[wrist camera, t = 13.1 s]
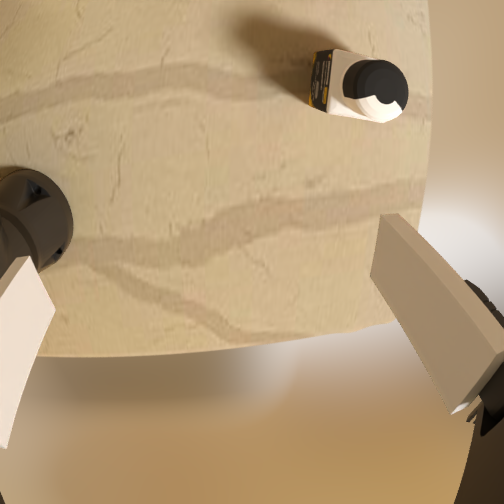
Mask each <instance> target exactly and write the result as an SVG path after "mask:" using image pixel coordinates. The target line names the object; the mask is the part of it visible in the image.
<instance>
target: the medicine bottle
mask: <svg viewBox="0 0 504 504" xmlns="http://www.w3.org/2000/svg"><path fill="white" fill-rule="evenodd" d="M407 100H408V85H407V81H406V79H405V77H404V75H403V73H402V72H401V71H400V69H399V68H398V67H396V66H395V65H394V64H392V63H390V62H388V61H385V60H380V59H376V58H372V57H369V56H365V55H361V54H357V53H353V52H348V51H344V50H339V49H332V50H325V51H319V52H315V53H314V58H313V68H312V77H311V86H310V95H309V106H311V107H313V108H316V109H318V110H321V111H323V112H326V113H328V114H333V115H340V116H346V117H352V118H358V119H363V120H369V121H374V122H379V123H385V122H386V121H389V120H392V119H394V118H396V117H397V116H398V115H400V114H401V112H402V111H403V110H404V108H405V106H406V104H407Z"/></svg>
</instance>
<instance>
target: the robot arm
mask: <svg viewBox="0 0 504 504" xmlns="http://www.w3.org/2000/svg"><path fill="white" fill-rule="evenodd" d="M72 235H73V217H72V213H71V209H70V206H69V204H68V201H67V199H66V198H65V196H64V194H63V193H62V191H61V190H60V188H59V187H58V186H57V185H56V184H55V183H54V182H53V181H52V180H51V179H49V178H48V177H47V176H45V175H43V174H41V173H39V172H37V171H33V170H18V171H15V172H13V173H11V174H9V175H8V176H6V177H5V178H3V179H2V180H1V181H0V447H1V448H4V449H6V448H7V444H8V440H9V437H10V433H11V429H12V425H13V422H14V419H15V415H16V412H17V409H18V405H19V402H20V399H21V396H22V393H23V390H24V387H25V384H26V381H27V379H28V376H29V373H30V370H31V368H32V365H33V363H34V360H35V357H36V355H37V352H38V350H39V347H40V345H41V343H42V340H43V338H44V336H45V333H46V331H47V329H48V326H49V324H50V322H51V320H52V317H53V315H54V313H55V311H56V309H55V307H54V305H53V303H52V301H51V299H50V298H49V296H48V294H47V292H46V290H45V288H44V286H43V283H42V281H41V279H40V277H39V275H38V273H40V272H41V271H43V270H45V269H46V268H48V267H49V266H51V265H53V264H54V263H56V262H57V261H58V260H59V259H60V258H61V257H62V255H63V254H64V252H65V251H66V249H67V248H68V246H69V244H70V242H71V239H72ZM370 277H371V279H372V280H373V282H374V283H375V285H376V286H377V288H378V290H379V291H380V293H381V294H382V296H383V297H384V299H385V301H386V302H387V304H388V305H389V307H390V309H391V310H392V312H393V313H394V315H395V317H396V318H397V320H398V322H399V323H400V325H401V326H402V328H403V330H404V332H405V333H406V335H407V337H408V338H409V340H410V342H411V343H412V345H413V347H414V349H415V350H416V352H417V354H418V356H419V357H420V359H421V361H422V363H423V364H424V366H425V368H426V370H427V372H428V373H429V375H430V377H431V379H432V381H433V383H434V385H435V386H436V388H437V390H438V392H439V394H440V396H441V398H442V400H443V402H444V404H445V406H446V408H447V410H448V412H449V413H450V415H451V414H453V413H455V412H457V411H459V410H462V409H463V408H466V407H467V406H469V405H470V404H471V403H472V401H473V400H474V399H475V398H476V397H477V396H478V394H479V396H480V398H481V399H482V401H481V402H480V404H479V405H478V406H477V407H476V408H475V409H474V410H473V411H472V412H471V414H470V415H469V416H468V418H467V421H466V422H470V421H471V420H472V418H474V416H475V415H476V414H477V416H476V419H475V421H474V422H473V423H474V424H475V427H474V433H473V437H472V442H471V446H470V450H469V454H468V458H467V463H466V466H465V470H464V474H463V477H462V480H461V484H460V487H459V490H458V493H457V496H456V499H455V502H454V504H504V317H503V316H502V314H501V313H500V312H499V311H497V310H496V307H495V306H494V305H493V303H492V302H489V299H488V298H487V296H486V295H485V294H484V293H483V292H482V290H480V288H478V287H477V286H476V285H474V284H473V283H471V282H470V281H468V280H463V279H462V278H461V277H460V276H459V275H458V274H457V273H456V271H455V270H453V268H452V267H451V266H450V265H449V264H448V263H447V262H446V261H445V260H444V259H443V258H442V256H440V254H439V253H438V252H437V251H436V250H435V249H434V248H433V247H432V246H431V245H430V244H429V243H428V242H427V241H426V240H425V239H424V238H423V237H422V236H421V235H420V234H419V233H418V232H417V231H416V230H415V229H414V228H413V227H412V226H411V225H410V224H409V223H408V222H407V221H405V220H404V219H403V218H402V217H401V216H400V215H399V214H385V215H380V222H379V229H378V235H377V241H376V247H375V252H374V258H373V263H372V268H371V273H370ZM0 504H5V502H4V500H3V497H2V495H1V493H0Z"/></svg>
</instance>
